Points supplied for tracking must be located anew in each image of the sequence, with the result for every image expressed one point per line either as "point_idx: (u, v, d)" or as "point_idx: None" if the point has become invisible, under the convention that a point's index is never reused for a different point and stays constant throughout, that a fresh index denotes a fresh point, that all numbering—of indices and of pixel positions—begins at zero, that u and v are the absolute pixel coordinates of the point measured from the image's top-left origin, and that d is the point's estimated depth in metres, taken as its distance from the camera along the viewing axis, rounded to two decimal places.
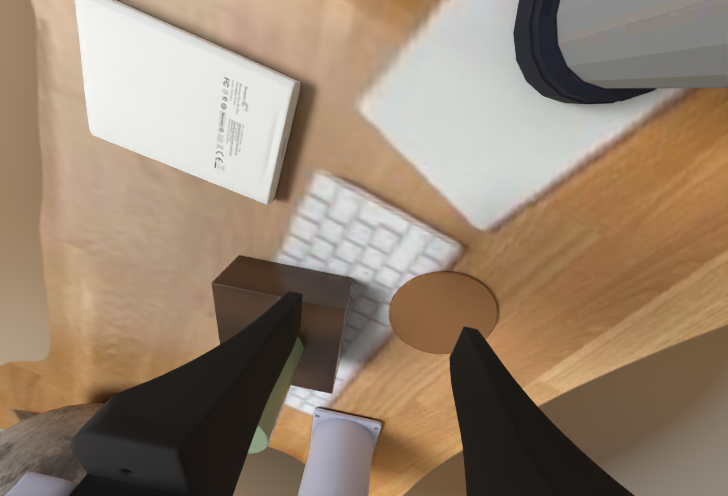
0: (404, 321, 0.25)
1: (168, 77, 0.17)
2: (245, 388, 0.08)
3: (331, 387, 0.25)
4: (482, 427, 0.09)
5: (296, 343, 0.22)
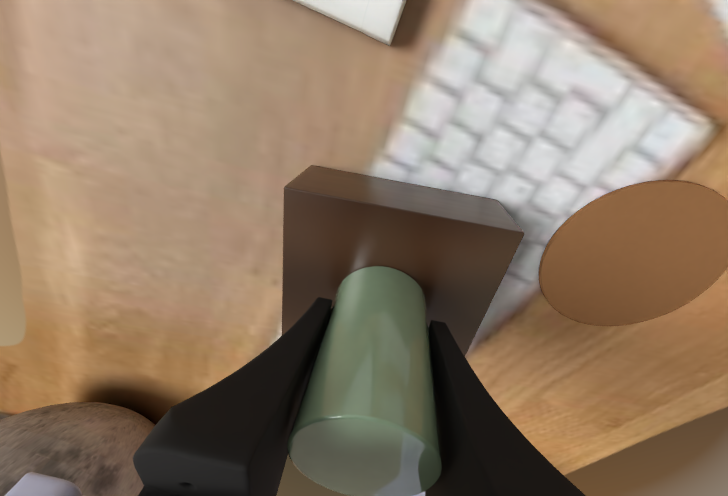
0: (565, 272, 0.16)
1: None
2: (290, 398, 0.08)
3: None
4: (440, 418, 0.09)
5: (422, 297, 0.13)
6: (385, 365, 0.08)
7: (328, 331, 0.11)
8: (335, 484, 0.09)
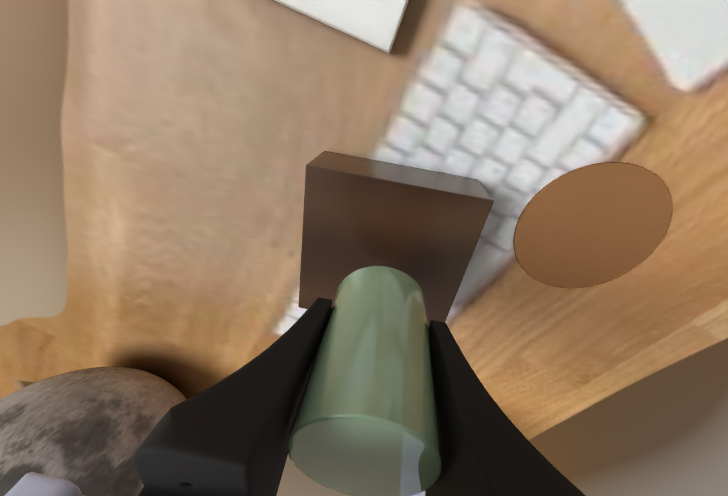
0: (534, 241, 0.19)
1: None
2: (290, 398, 0.08)
3: None
4: (440, 418, 0.09)
5: (422, 297, 0.13)
6: (385, 365, 0.08)
7: (328, 331, 0.11)
8: (335, 483, 0.09)
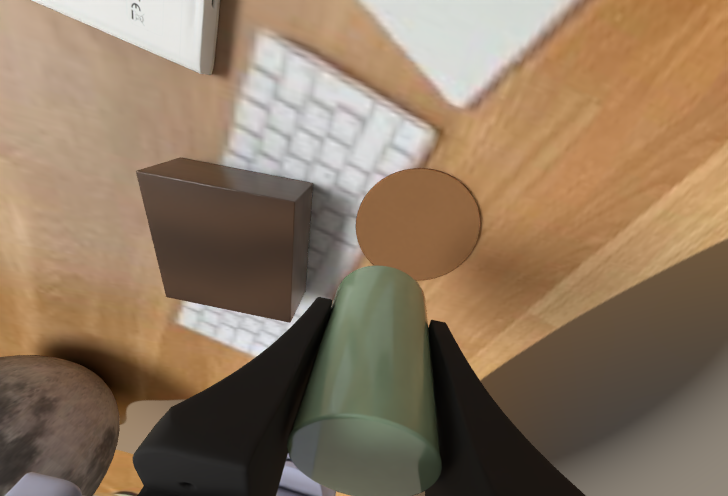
0: (373, 238, 0.22)
1: None
2: (290, 398, 0.08)
3: (288, 314, 0.22)
4: (440, 418, 0.09)
5: (422, 297, 0.13)
6: (385, 364, 0.08)
7: (328, 330, 0.11)
8: (335, 484, 0.09)
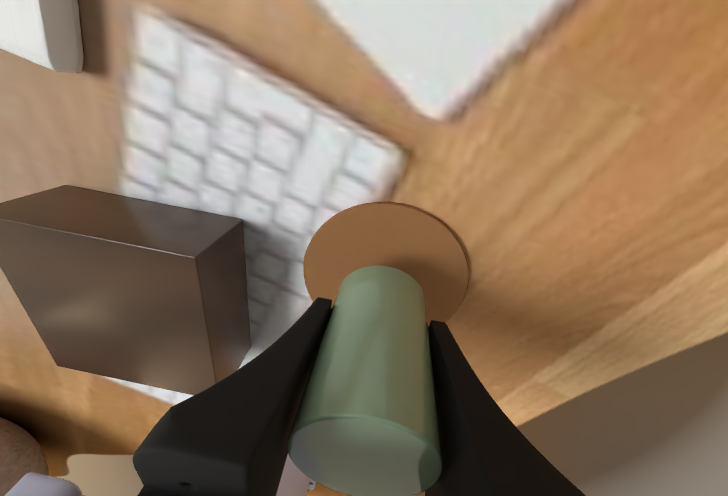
0: (328, 289, 0.16)
1: None
2: (289, 398, 0.08)
3: None
4: (440, 418, 0.09)
5: (423, 297, 0.13)
6: (386, 364, 0.08)
7: (328, 330, 0.11)
8: (335, 484, 0.09)
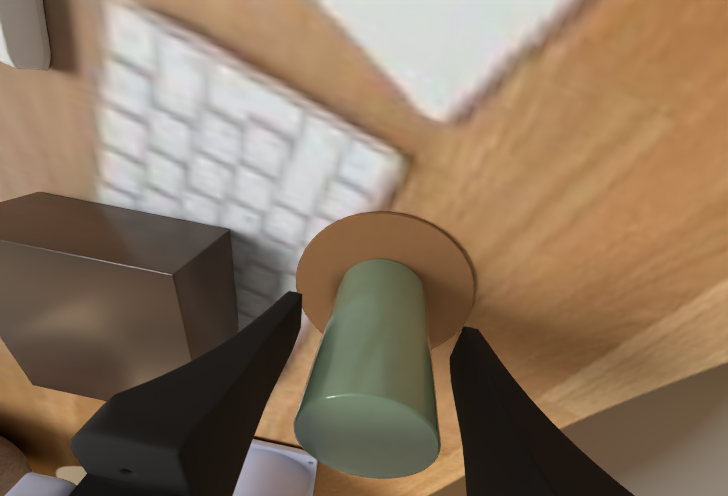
0: (323, 304, 0.15)
1: None
2: (245, 388, 0.08)
3: None
4: (482, 427, 0.09)
5: (422, 289, 0.13)
6: (387, 349, 0.09)
7: (331, 320, 0.11)
8: (339, 463, 0.09)
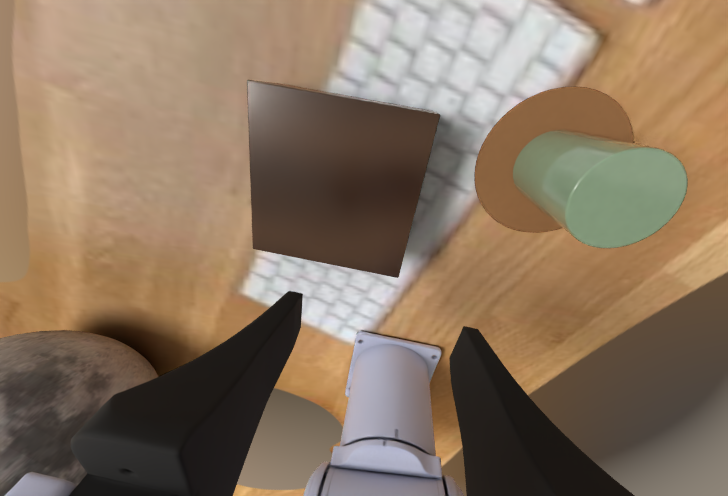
0: (495, 179, 0.19)
1: None
2: (245, 388, 0.08)
3: (398, 266, 0.19)
4: (482, 427, 0.09)
5: None
6: (632, 143, 0.12)
7: (553, 152, 0.15)
8: (590, 233, 0.13)
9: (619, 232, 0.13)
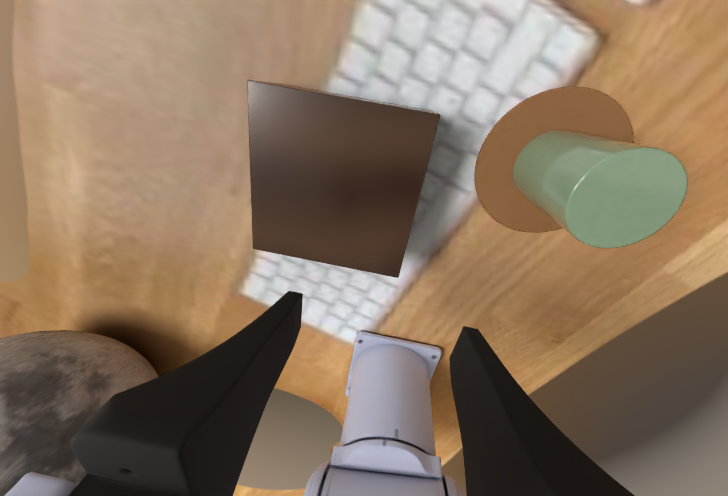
0: (495, 179, 0.19)
1: None
2: (245, 388, 0.08)
3: (398, 266, 0.19)
4: (482, 427, 0.09)
5: None
6: (632, 143, 0.12)
7: (554, 152, 0.15)
8: (590, 233, 0.13)
9: (619, 232, 0.13)
